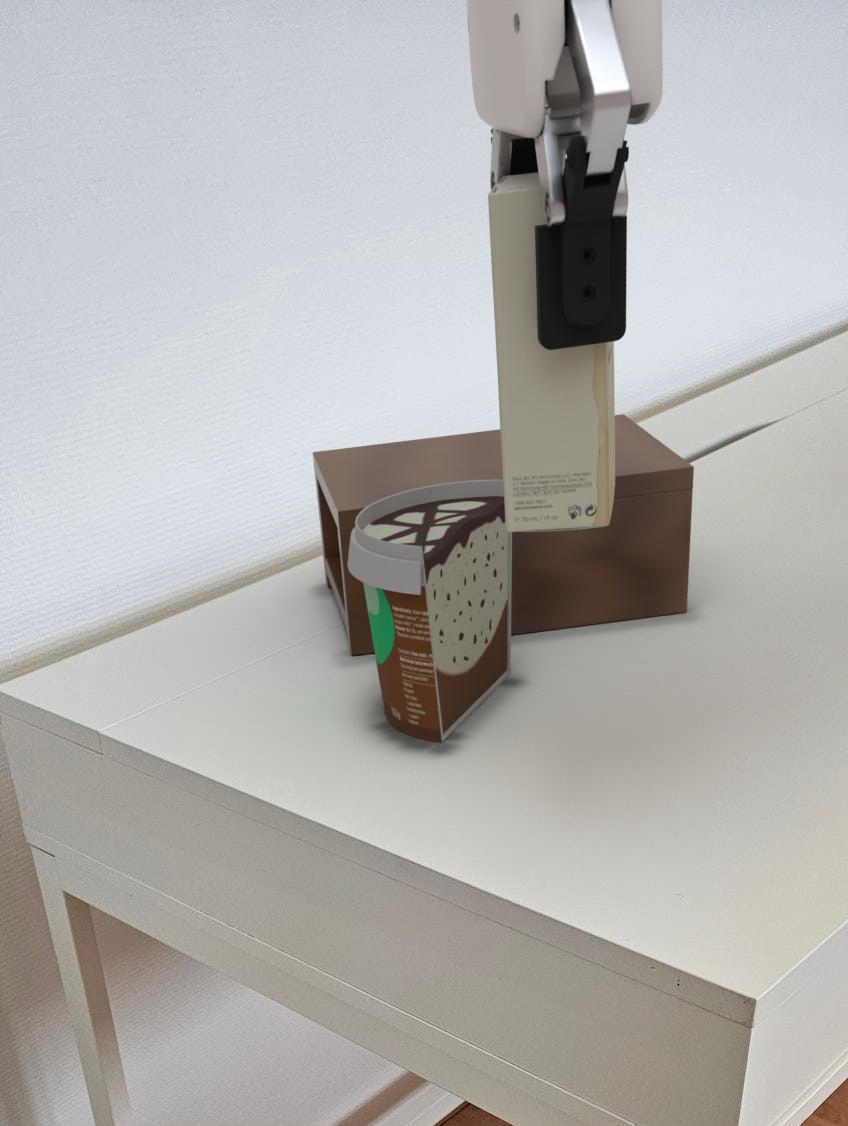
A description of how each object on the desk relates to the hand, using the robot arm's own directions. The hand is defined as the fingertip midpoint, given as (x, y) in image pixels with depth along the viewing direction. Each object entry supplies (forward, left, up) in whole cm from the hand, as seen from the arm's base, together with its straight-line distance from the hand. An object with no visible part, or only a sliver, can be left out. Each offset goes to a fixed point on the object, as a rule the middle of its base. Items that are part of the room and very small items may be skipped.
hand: (556, 322), depth 55 cm
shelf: (-2, -26, -19) cm, 33 cm away
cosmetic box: (0, 0, -7) cm, 7 cm away
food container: (+5, -11, -20) cm, 23 cm away
